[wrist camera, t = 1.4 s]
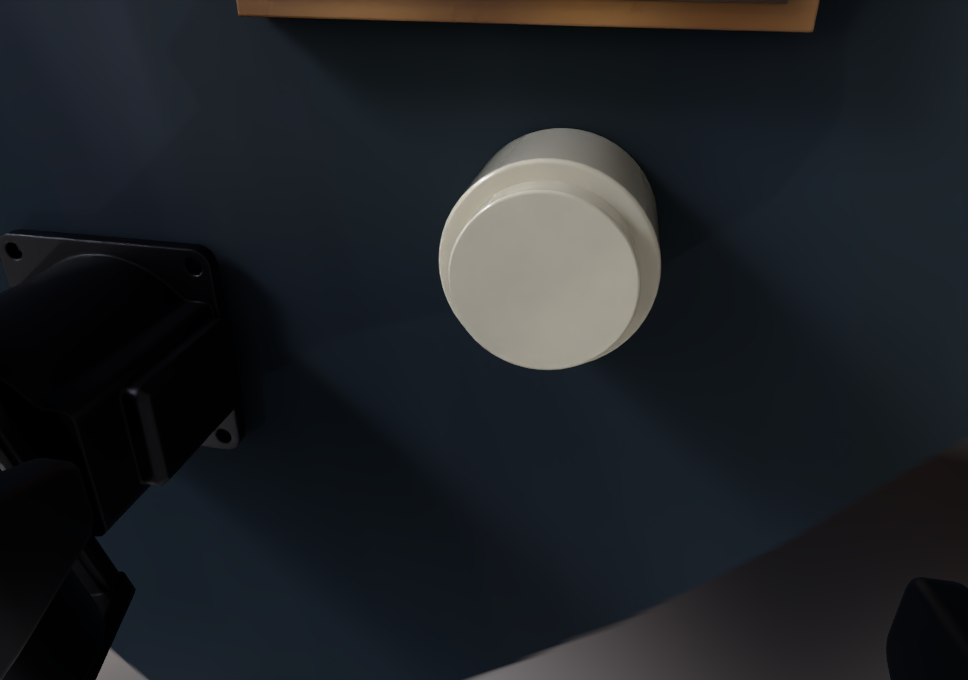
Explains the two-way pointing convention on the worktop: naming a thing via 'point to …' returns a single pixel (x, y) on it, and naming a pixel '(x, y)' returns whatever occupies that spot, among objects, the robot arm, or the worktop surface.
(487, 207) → the white lidded jar
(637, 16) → the wooden grid board
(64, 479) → the robot arm
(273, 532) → the worktop surface
